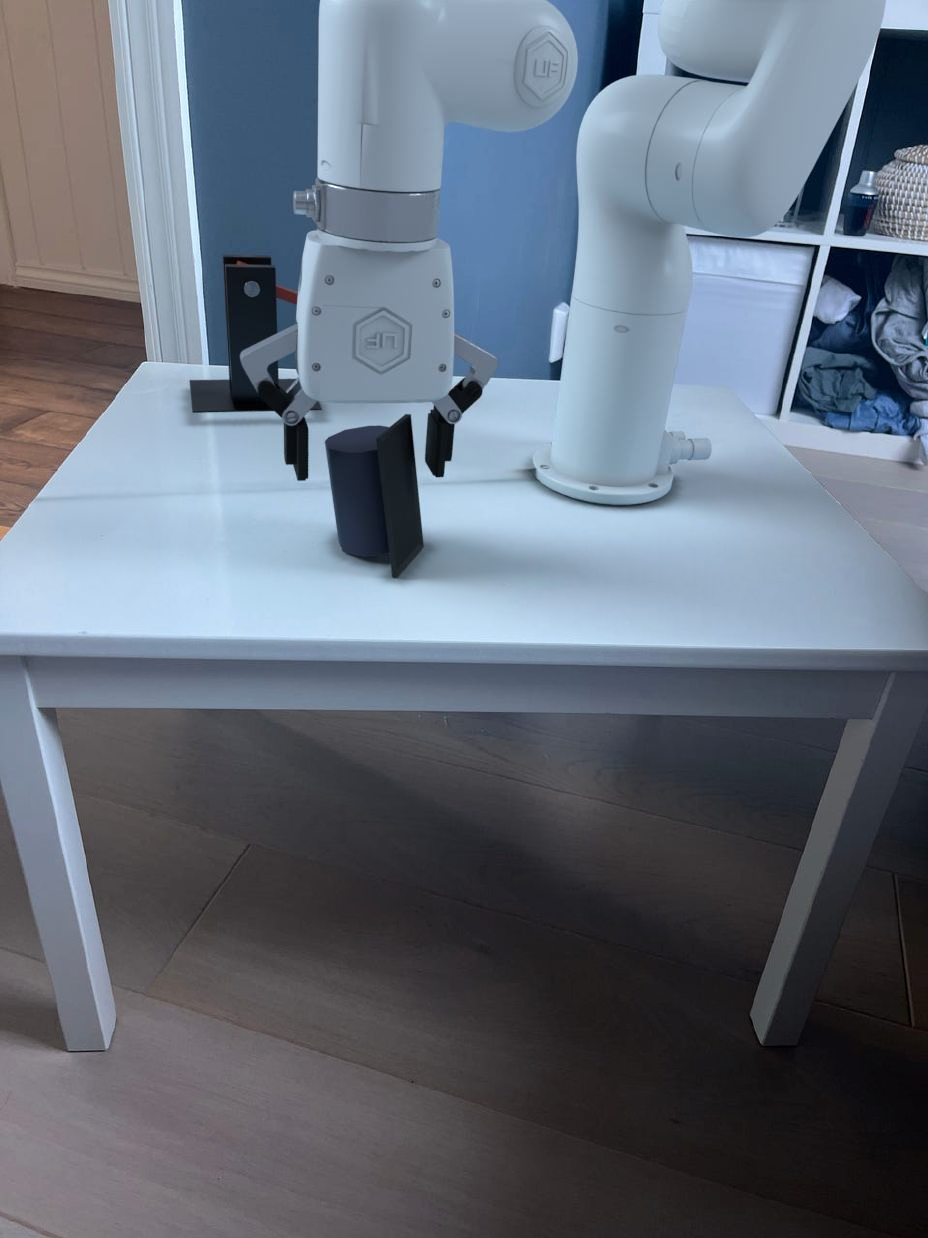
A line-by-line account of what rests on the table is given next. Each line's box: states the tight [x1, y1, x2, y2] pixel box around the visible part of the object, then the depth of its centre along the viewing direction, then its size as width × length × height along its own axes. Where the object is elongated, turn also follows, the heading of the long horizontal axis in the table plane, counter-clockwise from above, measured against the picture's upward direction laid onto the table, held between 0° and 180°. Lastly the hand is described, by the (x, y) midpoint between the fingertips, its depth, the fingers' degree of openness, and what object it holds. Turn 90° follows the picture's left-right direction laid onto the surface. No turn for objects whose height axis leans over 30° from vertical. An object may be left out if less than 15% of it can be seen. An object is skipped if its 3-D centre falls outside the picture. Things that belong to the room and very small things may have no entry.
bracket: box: [189, 253, 322, 414], centre depth 93 cm, size 12×9×14 cm
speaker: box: [324, 413, 425, 579], centre depth 70 cm, size 8×6×10 cm
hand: (368, 471), depth 69 cm, fingers open, 9 cm apart
